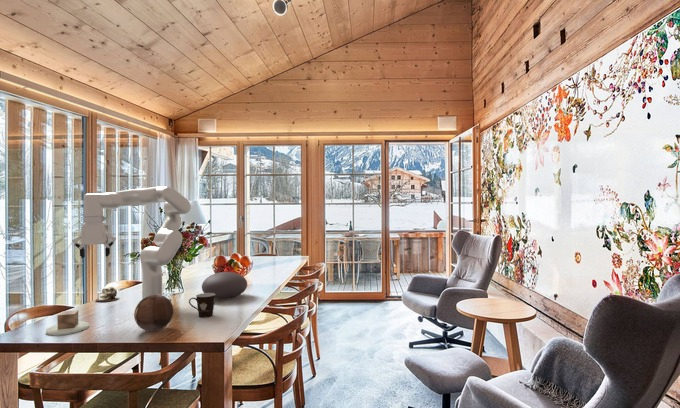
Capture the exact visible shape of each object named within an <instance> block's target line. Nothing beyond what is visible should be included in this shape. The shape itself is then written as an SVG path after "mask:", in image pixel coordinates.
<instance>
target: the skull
mask: <svg viewBox="0 0 680 408" xmlns="http://www.w3.org/2000/svg"><path fill="white" fill-rule="evenodd" d="M117 291H118V290H117V288H115V287H114V286H112V285H107V286H104V287H103V288H102V289H101V292H100V296H99V298H96V299H95V300H94V301H96V302H108V301H109V302H110V301H116V300H120V297H116V296H117V295H118V294H117V293H118V292H117Z"/></svg>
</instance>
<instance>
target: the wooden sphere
mask: <svg viewBox="0 0 680 408" xmlns="http://www.w3.org/2000/svg"><path fill="white" fill-rule="evenodd" d="M168 298H169V297H166V296H165V295H163V294H162V295H150V296H147V297H145V298H144V299H142V298H141V300H140V301H139V302H138V304H136V307H135V309H134V314H133V316H134V317H133V318H134V321H135V323H136V325H137V327H139V328H141V329H142V330H143V331H147V332H156V331H160V330H162V329H164V328H165V327H167V326H168V324H170V322H171V321H172V318H173V316H174V307H173V304H172V301H171V302H170V300H169V299H168Z"/></svg>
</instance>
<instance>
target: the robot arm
mask: <svg viewBox="0 0 680 408" xmlns="http://www.w3.org/2000/svg"><path fill="white" fill-rule="evenodd" d="M158 203H163V210H164V213H165V220H164V222H163V224H162V225H161V226H160V227H159V229H158V231H157V233H156V234H155V236H154V238H153V242H154V244H155V245H156V246H155V245H152V246H147V247H144V248H143V249H142V250H141V252H140V255H139V258H140V264H141V271H142V272H141V273H142V276H141V277H142V278H141V279H142V280H141V282H142V285H141V286H142V288H141V289H142V292H141V293H142V294H141V296H142V298H141V300H142V299H144V298H145V297H147V296H150V295H162V296H163V269H162V267H163V266H166V265H168V264H170V263H171V261H172V260H173V258H174V257H175V255H176V253H177V252H178V250H179V249H180V247H181V246H182V243H183V234H182V233H181V231H179V229H180V227H181V225H182V219H181V215H186V214H188V213H190V211H191V208H192V205H191V202H190V201H189V199H187V197H185V196H184V195H183V194H181V193H180V192H178V190H176V189H175V188H173V187H171V186H153V187H152V186H151V187H141V188H135V189H128V190H122V191H121V190H120V191H113V192H102V193H97V192H96V193H93V192H92V193H86V194H84V196H83V215H84V217H83V218H84V222H83V223H82V226H81V234H80V236H78V237H76V238H74V239H72V242H73V245H74V246H75V247H76V248H78V249H79V257H80V258H81V259H83V258H85V257H86V252H85V251H86V250H85V248H84V247H86V246H93V245H103V246H105V248H104V249H105V253H104V254H105V257H109V255H110V254H111V247H112V246H113V245H114V243H116V240H117V237H115V236H112V235H110V234H109V232H108V226H107V222H105V221H108V217H107V216H105V215H104V209H107V210H109V209H113V210H114V209H119V208H120V207H127V206H128V207H133V206H134V207H137V206H144V205H151V204H158ZM109 239H110V240H111V241H110V242H109ZM78 241H81V244H80V243H79V242H78ZM167 298H168V299H169V300H170V302H171V303H172V297H167Z"/></svg>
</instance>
